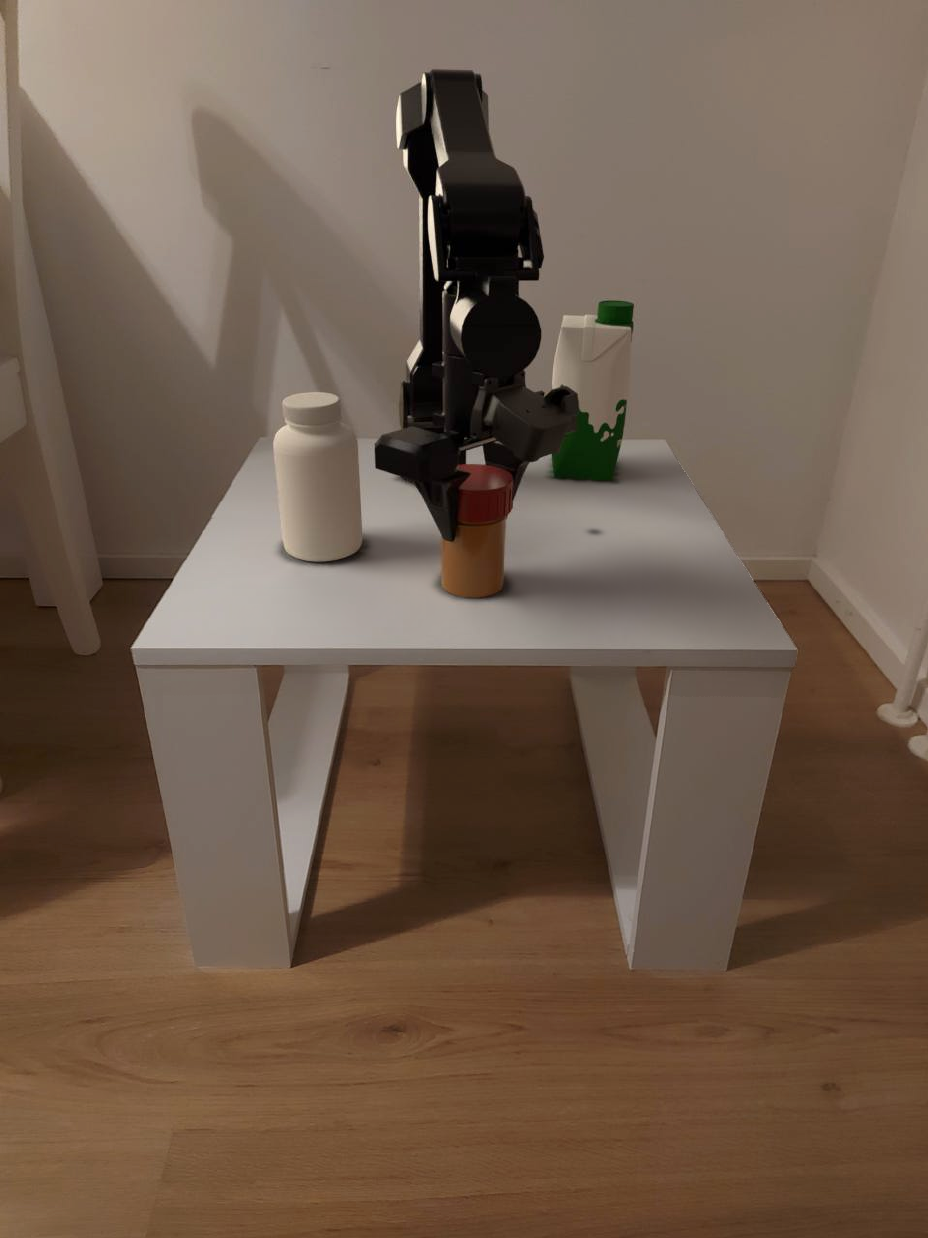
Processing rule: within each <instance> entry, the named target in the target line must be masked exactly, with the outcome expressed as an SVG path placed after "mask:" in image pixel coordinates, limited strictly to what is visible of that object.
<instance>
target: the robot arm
mask: <svg viewBox="0 0 928 1238" xmlns="http://www.w3.org/2000/svg"><path fill="white" fill-rule="evenodd" d="M482 79H483V78H482V75H481V73H475V72H474V71H473V70H472V69H445V68H444V69H443V68H441V69H440V68H439V69H437V68H432V69H431V70H430V71H428V72H426V71H424V72H423V74H422V78H421V81H420V82H418V83H416V84H415V85H413V86H411V87H409V88H407V89H406V90H404V91H402V92H400V94H399V97H398V101H397V102H398V103H397V106H396V117H395V118H396V125H395V127H396V131H395V132H396V147H397V150H402V154H403V156H402V157H403V166H404V168H405V171H406V172H407V175H408V176H409V178H410V180H411V182H412V184H413V186H414V188H415V190H416V192H417V193H418V215H419V216H418V218H419V219H418V221H419V224H418V225H419V226H418V227H419V228H418V229H419V230H418V231H419V234H418V235H419V240H418V241H419V259H418V260H419V340H418V341H417V343H416V345H415V347H414V348H413V350H412V352H411V353H410V355H409V357H408V358H407V359H406V363H405V380H401V381H400V389H399V399H398V414H399V415H398V416H399V426H400V429H397V430H393V431H390V432H386V433H382V434H381V435H380V436H379V438H378V439H377V440H376V442H374V467H375V470H379V471H382V472H385V473H388V474H391V475H394V476H398V477H399V478H400V479H403V480H405V481H409V482H412V483H413V485H414V486H415V488H416V490H417V492H418V493H419V494H420V496H421V498H422V500H423V501H424V503H425V505H426V507H427V509H428V511H429V513H430V515H431V517H432V519H433V521H434V524H435V525H436V527H437V529H438V531H439V533H440V536H441V535H442V537H443V539H444V540H446V541H449V542H453V541H455V537H456V530H457V518H458V499H459V487H460V486H461V485H462V484H463V483H464V482H465V480H466V479H467V478H468V477H469V476H470V474H471V473H469V472H466V471H462V470H459V465H463V464H467V451H469V450H473V449H476V448H479V447H482V452H483V459H484V465H490V466H495V467H499V468H502V469H504V470H506V471H508V472H510V473H511V474H512V476H513V482H514V483H513V486H514V492H513V501H514V500H515V498H516V495H517V492H518V490H519V486H520V484H521V481H522V479H523V478H524V475H525V472H526V470H527V468H528V466H529V464H530V463H535V462H538V461H539V460H540V459H541V458H545V457H546V456H550V455H551V456H552V455H555V454H557V453H559V450H560V448H561V445H562V443H563V440H564V438H565V437H567V434H568V433H571V432H574V431H576V430H577V429H578V424H577V422H576V420H577V417H578V393H576V392H575V391H573V390H572V389H570V388H569V387H567V386H563V387H559V388H555V389H552V388H551V390H550V391H549V392H548V393H546V392H545V391H544V390H538V391H533V390H531V389H530V388H528V387H527V384H526V371H525V369H527V368H528V367H529V366H530V365H531V364H532V362H533V361H534V360H535V359H536V357H537V356H538V355H537V354H538V353H539V350H540V347H541V343H542V326H541V323H540V320H539V317H538V314H537V313H536V311H535V309H534V308H533V306H531V305H530V304H529V303H528V302H527V301H526V300H525V299H523V298H521V297H520V282H539V281H540V269H542V267H543V264H544V263H543V262H544V260H545V253H544V248H543V242H542V235H541V230H540V229H541V228H540V223H539V218H538V213H537V212H536V211H535V209H534V206H533V199H532V197H531V196H530V195H526V191H525V186H524V184H523V182H522V179H521V178H520V176H519V173H518V171H517V169H516V168H515V167H514V166H512V165H510V164H508V163H506V162H504V161H502V160H500V159H498V158H497V156H496V154H495V150H494V146H493V141H492V138H491V134H490V117H489V116H490V115H489V114H490V113H489V111H490V110H489V94H488V93H487V92H485V90H484V89H483V80H482ZM519 249H520V255H521V256H519ZM545 394H546V395H545ZM508 516H509V514H508V515H507V516H506V520H507V519H508Z"/></svg>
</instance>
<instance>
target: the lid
mask: <svg viewBox="0 0 928 1238" xmlns="http://www.w3.org/2000/svg"><path fill="white" fill-rule="evenodd" d="M459 470H462V471H466V472H469V473H471V474H470V476H469V477H468V478H467V479H466V480H465V482H464V483H463V484H462V485H461V486H460V487H459V499H458V518H457V521H462V522H489V521H494V520H498V519H501V518H503V517H505V516H507V515H508V516H509V515H510V514H511V512H512V510H513V509H514V500H513V492H514V486H513V483H514V482H513V476H512V474H511V473H510V472H508V471H506V470H504V469H502V468H499V467H495V466H490V465H485V464H479V463H466V464H463V465H459Z"/></svg>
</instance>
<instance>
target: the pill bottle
mask: <svg viewBox="0 0 928 1238" xmlns="http://www.w3.org/2000/svg"><path fill="white" fill-rule="evenodd" d="M281 404H282V414H283V417H284V422H285V423H286V425H285V424H284V426H282V427H281V428H280V429H279V430H278V431H277V432H276V433H275V435H274V438H273V443H272V447H273V449H272V450H273V458H274V467H275V478H276V489H277V497H278V508H279V517H280V528H281V538H282V543H283V548H284V549H285V551H286V553H287V554H288V555H289V556H291V557H294V558H295V559H297V560H302V561H307V562H331V561H337V560H340V559H341V560H342V559H345V558H347V557H349V556H352V555H353V554H355V553H356V552H357V551H359V549H360V548H361V546H362V543H363V519H362V500H361V497H362V496H361V479H360V461H359V458H360V457H359V442H358V438H357V435H356V432H355V431H354V430H353V429H352V428H351V427H350V426H348V425H347V424H345V423H344V422H342V421H343V415H342V406H341V405H342V403H341V399H340V397H339V396H338V395H336V394H333V393H329V392H323V391H309V392H300V393H295V394H291V395H288V396H287V397H285V398H284V399H283V400H282V403H281Z"/></svg>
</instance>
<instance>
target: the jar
mask: <svg viewBox="0 0 928 1238" xmlns="http://www.w3.org/2000/svg"><path fill="white" fill-rule="evenodd" d="M506 526H507V519H506V516H505V517H503V518H501V519H498V520H494V521H489V522H462V521H457V530H456V537H455V541H453V542H449V541H446V540H444V539H443V537H442V535H441V534H440V551H441V552H440V585H441V588H442V589H443V590H445V591H446V592H447V593H449V594H451V595H453V596H456V597H461V598H462V597H463V598H469V599H470V598H472V599H476V598H478V599H479V598H486V597H489V596H492V595H495V594H497V593H499V592H500V591H501V590H502V589H503V587H504V581H505V580H504V579H505V577H504V576H505V555H506V553H505V552H506V532H507V531H506V530H507V529H506V528H507V527H506Z"/></svg>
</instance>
